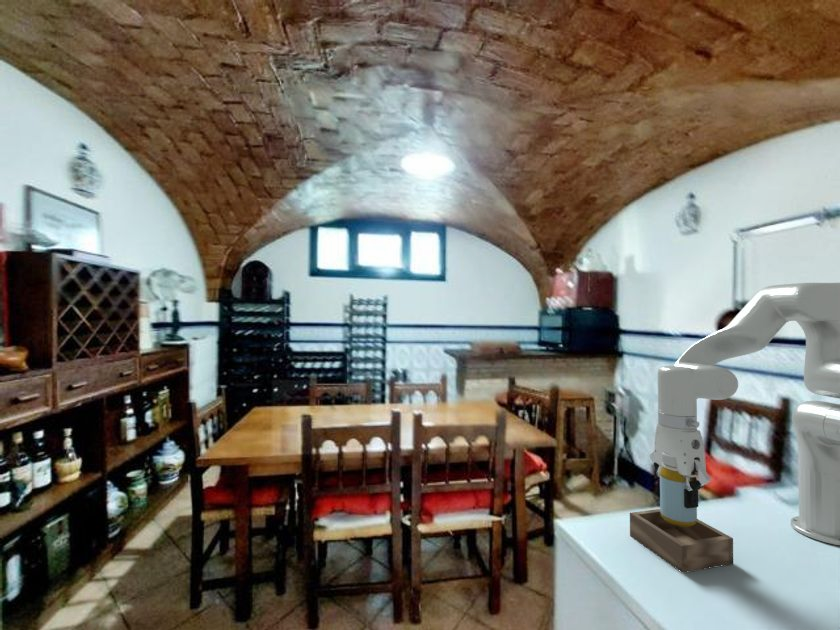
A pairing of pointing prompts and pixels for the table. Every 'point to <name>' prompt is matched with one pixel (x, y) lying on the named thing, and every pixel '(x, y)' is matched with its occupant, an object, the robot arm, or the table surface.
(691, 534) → the brown box
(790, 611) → the table surface
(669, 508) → the bottle
